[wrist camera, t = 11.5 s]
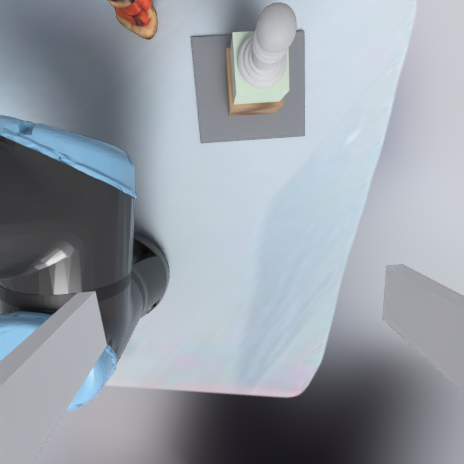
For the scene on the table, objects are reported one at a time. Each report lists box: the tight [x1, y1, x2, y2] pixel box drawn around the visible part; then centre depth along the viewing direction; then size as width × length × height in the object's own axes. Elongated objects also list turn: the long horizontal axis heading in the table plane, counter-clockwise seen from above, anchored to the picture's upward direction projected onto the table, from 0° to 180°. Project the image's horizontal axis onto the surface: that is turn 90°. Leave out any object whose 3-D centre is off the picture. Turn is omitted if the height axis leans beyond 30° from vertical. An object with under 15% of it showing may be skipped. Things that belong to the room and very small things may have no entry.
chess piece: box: [237, 3, 297, 88], centre depth 24 cm, size 5×5×9 cm
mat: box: [191, 31, 305, 143], centre depth 39 cm, size 16×14×1 cm
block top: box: [230, 31, 289, 105], centre depth 31 cm, size 6×6×5 cm
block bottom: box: [225, 48, 283, 116], centre depth 36 cm, size 7×7×5 cm
